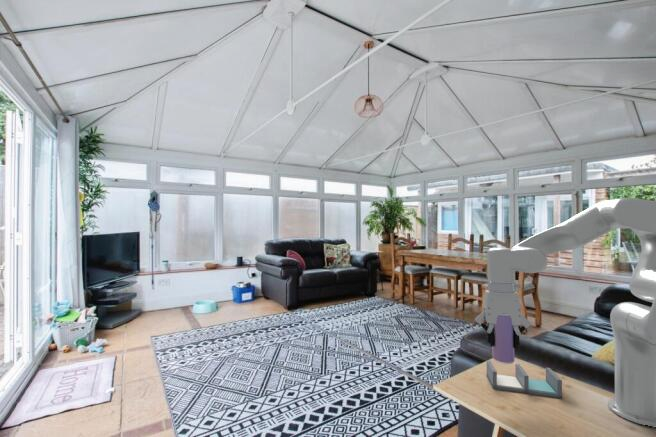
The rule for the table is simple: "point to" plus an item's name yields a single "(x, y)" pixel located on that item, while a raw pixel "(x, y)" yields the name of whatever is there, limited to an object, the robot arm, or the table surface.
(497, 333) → the beverage can
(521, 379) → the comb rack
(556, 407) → the table surface
